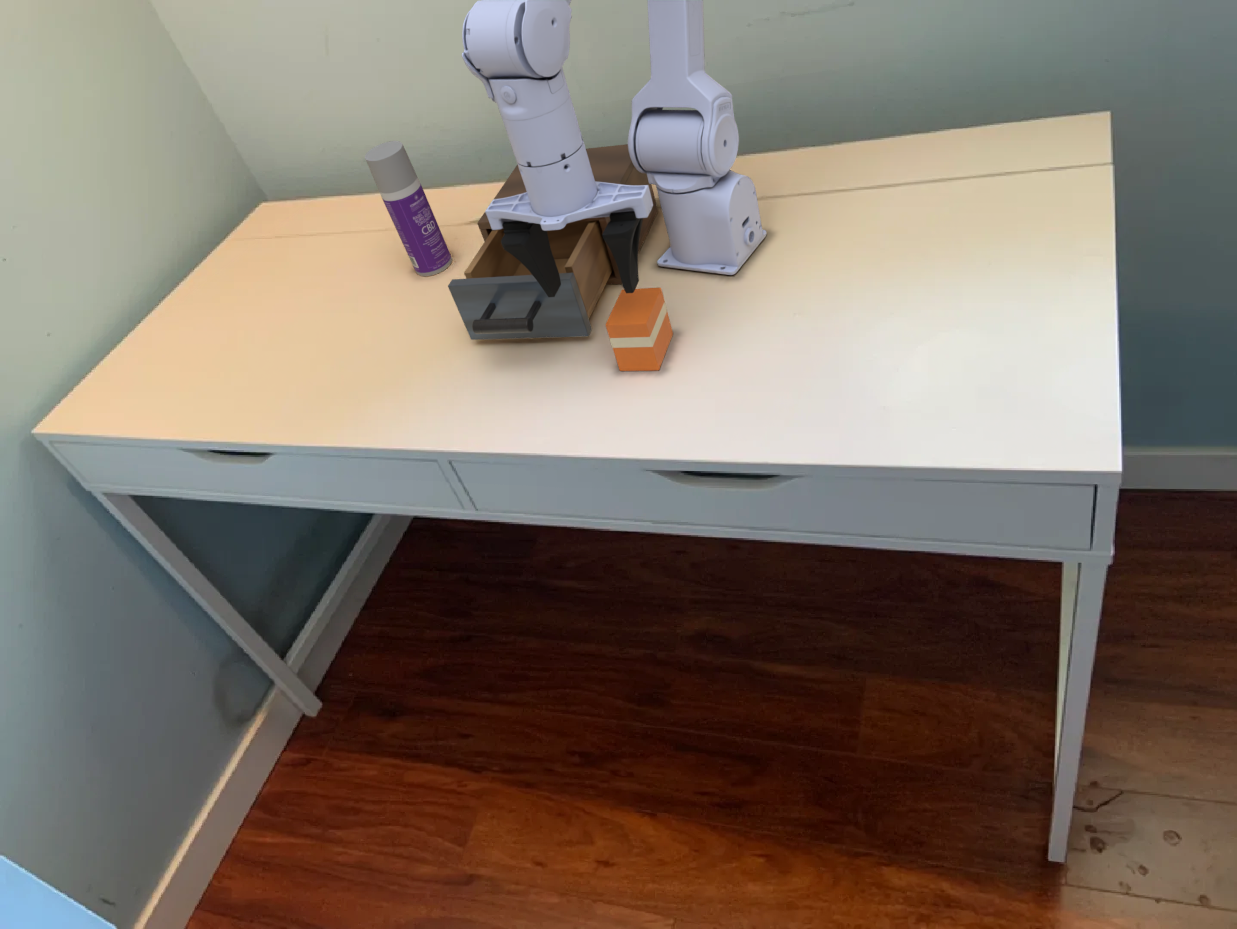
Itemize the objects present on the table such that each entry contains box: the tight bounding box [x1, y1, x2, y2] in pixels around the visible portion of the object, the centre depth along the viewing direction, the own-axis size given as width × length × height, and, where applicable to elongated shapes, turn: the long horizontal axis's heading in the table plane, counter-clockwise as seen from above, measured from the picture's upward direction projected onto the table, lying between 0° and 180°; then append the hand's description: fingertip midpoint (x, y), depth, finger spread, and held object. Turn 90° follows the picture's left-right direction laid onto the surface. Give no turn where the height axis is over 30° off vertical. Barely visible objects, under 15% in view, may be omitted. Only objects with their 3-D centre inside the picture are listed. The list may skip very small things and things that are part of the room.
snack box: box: [605, 287, 674, 372], centre depth 91 cm, size 6×4×6 cm
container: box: [364, 140, 453, 277], centre depth 111 cm, size 5×5×15 cm
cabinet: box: [477, 143, 659, 286], centre depth 107 cm, size 15×15×9 cm
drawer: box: [447, 220, 613, 341], centre depth 99 cm, size 18×13×7 cm
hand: (593, 288), depth 87 cm, fingers open, 7 cm apart
